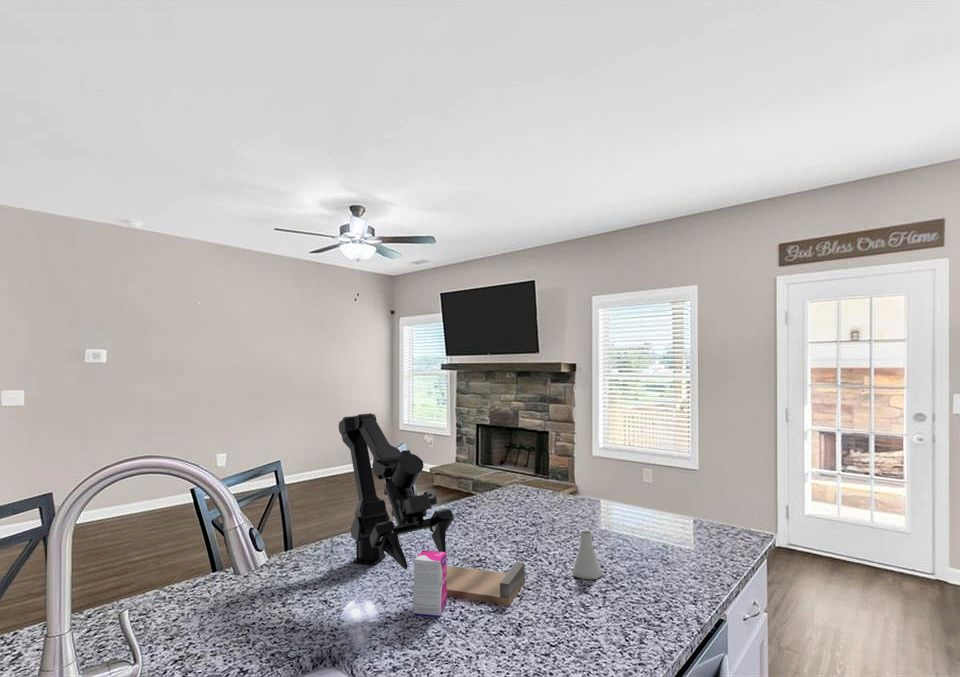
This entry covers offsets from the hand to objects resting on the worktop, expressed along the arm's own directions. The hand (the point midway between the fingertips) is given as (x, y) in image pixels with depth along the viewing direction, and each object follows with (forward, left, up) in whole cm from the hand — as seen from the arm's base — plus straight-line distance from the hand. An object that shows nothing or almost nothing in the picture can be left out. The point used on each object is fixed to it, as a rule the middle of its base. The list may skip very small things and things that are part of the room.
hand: (426, 563), depth 110 cm
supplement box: (+1, -1, -9) cm, 10 cm away
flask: (+29, +27, -9) cm, 41 cm away
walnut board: (+6, +12, -9) cm, 16 cm away
